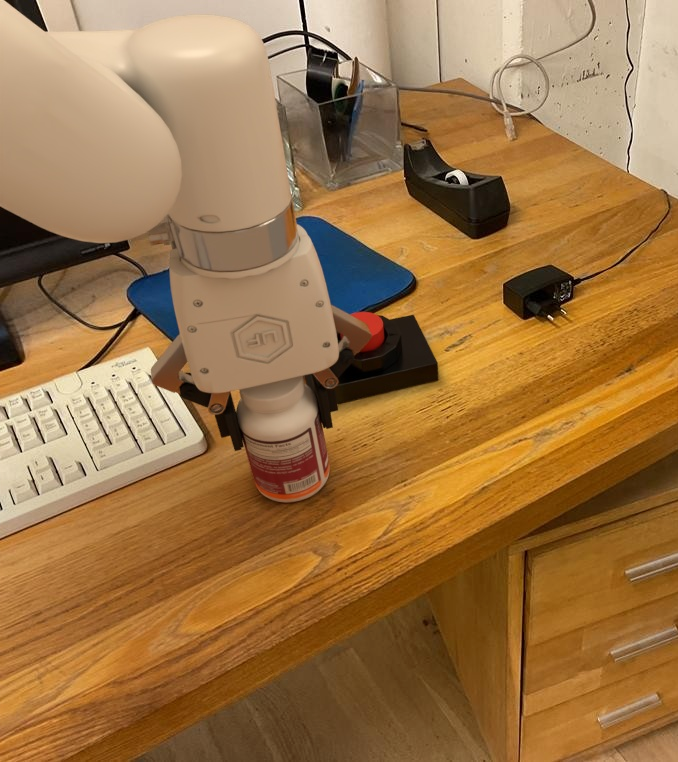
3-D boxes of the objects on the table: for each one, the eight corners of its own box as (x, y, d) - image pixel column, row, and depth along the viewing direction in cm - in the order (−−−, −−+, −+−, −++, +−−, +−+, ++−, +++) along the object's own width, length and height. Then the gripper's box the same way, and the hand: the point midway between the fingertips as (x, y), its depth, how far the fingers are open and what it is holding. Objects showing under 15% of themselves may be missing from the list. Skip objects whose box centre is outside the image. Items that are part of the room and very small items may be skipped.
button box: (312, 410, 74) (306, 377, 71) (296, 356, 79) (290, 324, 76) (438, 380, 77) (437, 347, 74) (414, 331, 82) (412, 299, 80)
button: (346, 356, 74) (344, 341, 72) (337, 331, 76) (334, 316, 75) (389, 347, 75) (387, 332, 74) (378, 322, 78) (376, 307, 76)
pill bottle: (280, 442, 70) (258, 343, 63) (344, 461, 69) (328, 362, 62) (239, 493, 66) (210, 393, 59) (306, 514, 65) (285, 415, 57)
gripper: (90, 285, 47) (169, 490, 59) (383, 233, 52) (401, 432, 63) (90, 221, 52) (162, 422, 64) (355, 180, 57) (377, 373, 69)
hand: (281, 425), depth 63 cm, fingers closed on pill bottle, 6 cm apart
